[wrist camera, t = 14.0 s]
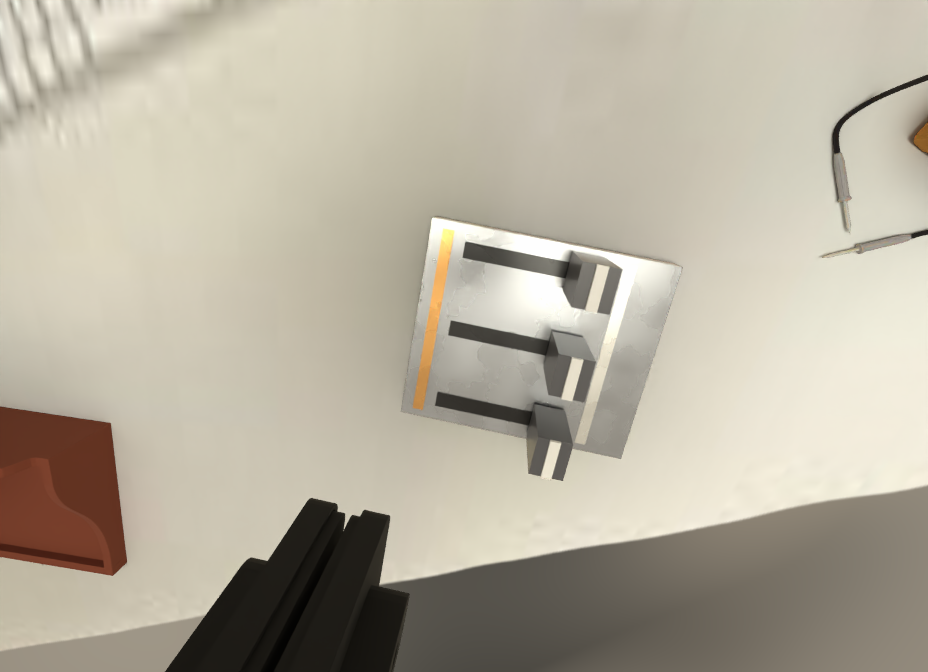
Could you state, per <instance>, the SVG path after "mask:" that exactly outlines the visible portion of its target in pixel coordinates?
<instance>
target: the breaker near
mask: <svg viewBox="0 0 928 672" xmlns="http://www.w3.org/2000/svg"><path fill="white" fill-rule="evenodd" d="M622 270H623V269H622V268H620V267H619V266H617V265H616V264H615V263H613V262H612V261H610V260H609V259H607V258H605V257H600V256H595V255H590V254H585V253H580V252H575V251H572V255H571V259H570V263H569V267H568V271H567V275H566V279H565V283H564V287H563V292H564V294H565V296H566V298H567V300H568V302H569V304H570V306H571V307H572V308H577V309H582V310H585V311H588V312H593V313H602V314H607V315H610V312H611V308H612V305H613V301H614V298H615V294H616V291H617V287H618V284H619V281H620V277H621V274H622Z"/></svg>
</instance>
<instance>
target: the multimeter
mask: <svg viewBox="0 0 928 672" xmlns="http://www.w3.org/2000/svg"><path fill="white" fill-rule="evenodd" d="M927 80H928V75H925V76H923V77H920V78H917V79H915V80H912V81H910V82H907V83H905V84H902V85H900V86H897V87H895V88H893V89H890V90H888V91H886V92H883V93H881V94H879V95H877V96H875V97H873V98H871V99H869V100H868V101H866V102H864V103H863V104H861V105H859V106H858V107H856V108H855V109H853V110H852V111H850V112H849V113H848V114H846V115H845V116H844V117H843V118H842V119H841V120H840V121H839V122H838V124H837V125H836V127H835V129H834V133H833V146H834V169H835V176H836V182H837V188H838V195H839V199H838V202H843V206H844V212H845V219H846V225H847V229H848V231H849V233H850V231H851V223H850V217H849V210H848V203H847V201H848V200H851V197H850V195H849V188H848V182H847V175H846V168H845V162H844V159H843V156H842V153H841V152H840V147H839V132H840V129H841V127H842V125H843V124H844V123H845V121H846V120H848V119H849V118H850V117H851V116H852V115H854V114H855V113H857V112H858V111H860V110H861V109H863V108H865V107H866V106H868V105H870V104H872V103H873V102H875V101H877V100H879V99H882V98H884V97H886V96H888V95H891V94H893V93H895V92H898V91H900V90H903V89H906V88H908V87H911V86H913V85H916V84H919V83H922V82H924V81H927ZM914 144H915V145H916V146H917V147H918V148H920V149H921V150H922V151H923V152H927V153H928V122H927V123H926V124H925V125H924V127H923V128H922V129H921V130H920V131H919V132H918V133H917V134H916V135H915V137H914ZM923 235H928V230H926V231H921V232H918V233H914V234H911V235H909V234H906V235H898V236H894V237H890V238H886V239H882V240H877V241H873V242H869V243H865V244H856V246H855V248H853V249H849V250H845V251H841V252H837V253H832V254H828V255H826V256H824V257H822V258H830V257H834V256H838V255H842V254H847V253H851V252H855V251H856V252H857V253H858V254H861V253H863V252H865V251H870V250H874V249H878V248H882V247H887V246H891V245H895V244H899V243H903V242H906V241H908V240H910V239H912V238H916V237H919V236H923Z"/></svg>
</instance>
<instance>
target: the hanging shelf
mask: <svg viewBox="0 0 928 672" xmlns="http://www.w3.org/2000/svg"><path fill="white" fill-rule="evenodd" d="M0 557H4V558H10V559H16V560H22V561H28V562H34V563H40V564H46V565H52V566H58V567H64V568H70V569H76V570H82V571H88V572H94V573H100V574H106V575H111V576H113V575H114V574H115V573H116V572H117V571H118V570H119V569H120V568H121V567H122V566H124V565H125V564H126V563H127V558H126V550H125V541H124V533H123V524H122V516H121V507H120V499H119V490H118V482H117V473H116V465H115V456H114V448H113V439H112V430H111V423H106V422H100V421H93V420H86V419H79V418H73V417H66V416H59V415H53V414H46V413H39V412H32V411H26V410H19V409H12V408H6V407H0Z"/></svg>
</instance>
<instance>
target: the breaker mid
mask: <svg viewBox="0 0 928 672" xmlns="http://www.w3.org/2000/svg"><path fill="white" fill-rule="evenodd" d="M595 364H596V361H595V359H594V356H593V354H592V352H591V350H590V348H589V346H588V344H587V342H586V340H585V338H582V337H578V336H573V335H568V334H563V333H558V332H553V331H552V334H551V338H550V342H549V346H548V350H547V354H546V358H545V362H544V366H543V369H544V374H545V380H546V386H547V391H548V395H551V396H556V397H560V398H561V399H563V400H568V401H572V400H574V401H579V402H584V403H585V399H586V396H587V392H588V389H589V385H590V382H591V378H592V375H593V371H594V368H595Z"/></svg>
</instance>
